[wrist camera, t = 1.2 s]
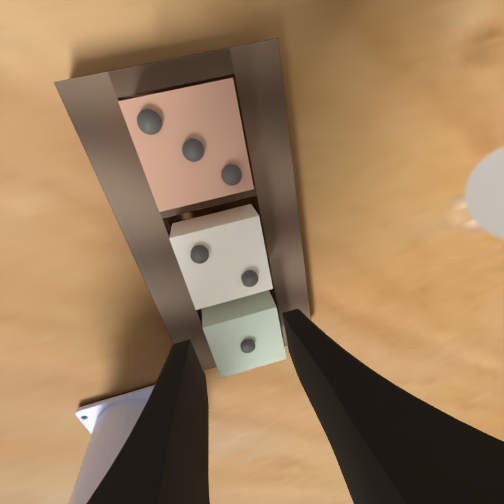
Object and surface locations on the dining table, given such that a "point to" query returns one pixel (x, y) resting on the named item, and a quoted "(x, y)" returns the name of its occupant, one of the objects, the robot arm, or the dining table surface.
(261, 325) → the tile one
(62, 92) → the dice tray
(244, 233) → the tile two
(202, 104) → the tile three
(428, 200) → the dining table surface
